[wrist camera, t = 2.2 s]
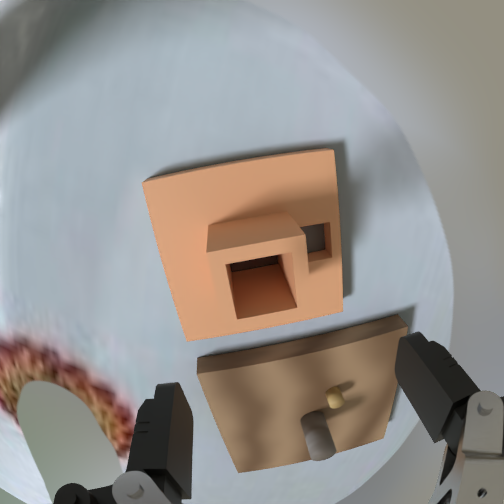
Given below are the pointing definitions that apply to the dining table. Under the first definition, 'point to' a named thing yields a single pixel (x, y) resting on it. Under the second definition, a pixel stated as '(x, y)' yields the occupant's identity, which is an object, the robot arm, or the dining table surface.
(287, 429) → the post base
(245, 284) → the flange plate
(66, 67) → the dining table surface
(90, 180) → the dining table surface
